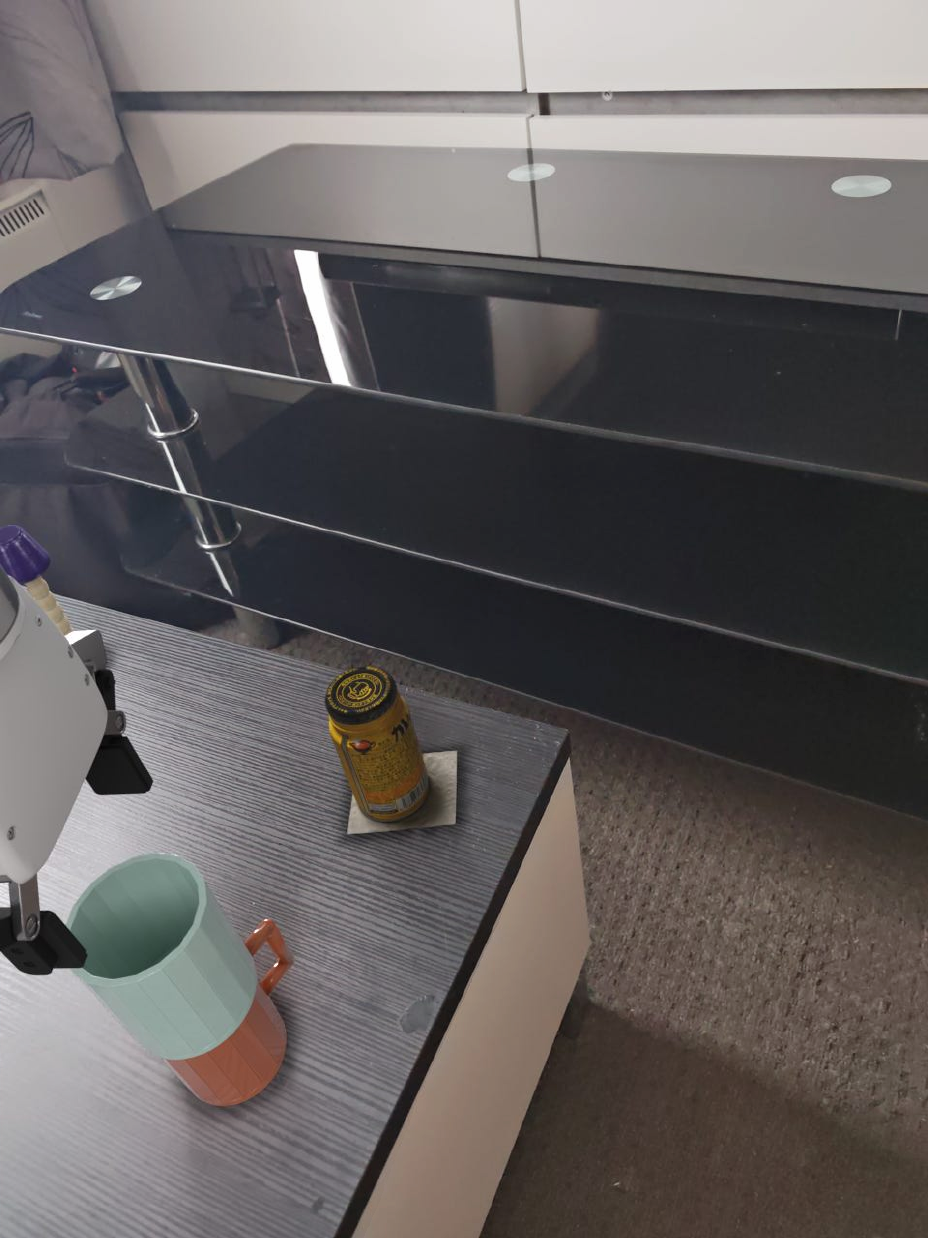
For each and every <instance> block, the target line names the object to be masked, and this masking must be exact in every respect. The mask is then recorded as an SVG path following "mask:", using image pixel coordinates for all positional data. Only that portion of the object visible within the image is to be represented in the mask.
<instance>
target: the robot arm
mask: <svg viewBox="0 0 928 1238" xmlns="http://www.w3.org/2000/svg"><path fill="white" fill-rule="evenodd" d="M107 665H108V659H107V654H106V649H105V644H104V640H103V635H102V633H101V630H99V629H85V630H75V631H73V632H71V633H69V634H67V635H66V636H64V635H63V633H62V632H61V631H60V629H59V628H58V627H57V626H56V624H55V623H54V622H53V620H52V619H51V618H50V617H49V616H48V614H47V613H46V612H45V611H44V610H43V608H42V607H41V606H40V605H39V604H38V603H37V602H36V601H35V598H33V597H32V596H31V595H30V594H29V592H28V590H26V589H25V588H24V587H23V586H22V585H20V584H19V583H18V582H17V581H16V580H15V579H14V578H13V577H11V576H9V575H7V574H6V572H5V570H4V569H3V567H2V565H1V564H0V884H7V885H8V896H9V906H0V953H1V954H2V955H3V956H4V957H5V958H6V959H7V960H8V961H9V962H10V963H11V964H12V965H13V966H14V967H15V968H16V969H17V970H18V971H19V972H21V973H23V974H25V975H29V976H48V975H49V976H50V975H51V974H52V973H53V971H54V969H55V970H57V969H59V970H60V969H61V970H63V969H65V970H66V969H67V970H70V968H83V967H84V964H85V962H86V959H87V956H88V955H87V953H86V949H85V948H84V947H83V945H82V944H81V943H80V942H79V941H78V939H77V938H76V937H75V936H74V935H73V934H72V932H71V931H70V930H69V929H68V928H67V926H66V925H65V924H66V923H65V922H63V920H62V919H61V917H59V916H58V915H57V913H56V912H54V911H51V910H41V906H40V904H41V903H40V894H39V884H38V883H39V881H38V872H40V870H41V869H42V868H43V867H44V866H45V864H46V862H47V861H48V860H49V858H50V856H51V854H52V852H53V851H54V848H55V846H56V844H57V842H58V841H59V840H58V839H59V838H60V836H61V834H62V832H63V829H64V827H65V825H66V823H67V820H68V819H69V817H70V814H71V812H72V810H73V807H74V806H75V803H76V801H77V799H78V796H79V794H80V792H81V789H82V787H83V786H84V783H85V781H86V782H87V784H88V785H89V787H90V788H91V790H92V791H93V793H94V794H96V795H98V796H116V795H117V796H119V795H144V794H147V792H150V791H151V789H152V787H153V783H154V779H153V777H152V775H151V774H150V772H149V770H148V769H147V767H146V766H145V764H144V762H143V760H142V759H141V757H140V755H139V754H138V752H137V750H136V749H135V747H134V745H133V744H132V742H131V741H130V738H129V737H128V735H123V734H124V733H125V731H126V728H127V718H126V717H127V716H126V714H125V712H123V711H122V710H117V705H116V679H115V675H114V672H113V671H112V670H111V669H107V667H106V666H107Z"/></svg>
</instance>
